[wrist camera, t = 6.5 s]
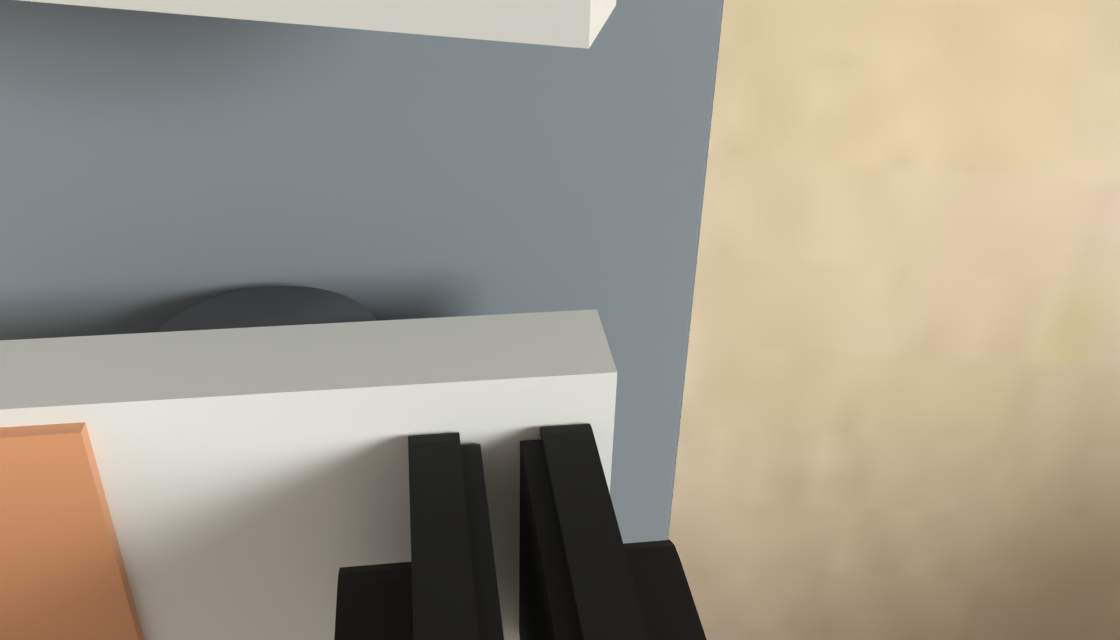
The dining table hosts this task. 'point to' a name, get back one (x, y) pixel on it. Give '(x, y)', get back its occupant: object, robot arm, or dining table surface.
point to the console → (366, 183)
